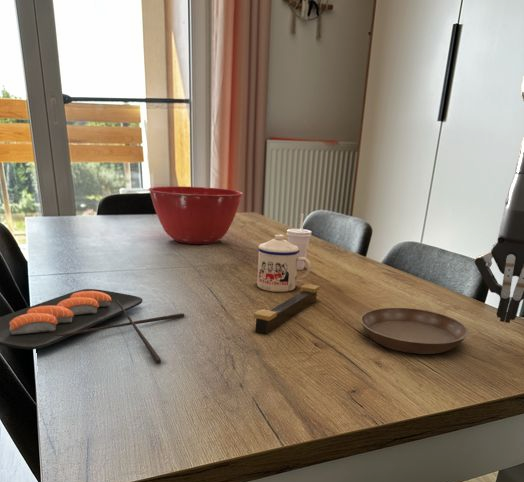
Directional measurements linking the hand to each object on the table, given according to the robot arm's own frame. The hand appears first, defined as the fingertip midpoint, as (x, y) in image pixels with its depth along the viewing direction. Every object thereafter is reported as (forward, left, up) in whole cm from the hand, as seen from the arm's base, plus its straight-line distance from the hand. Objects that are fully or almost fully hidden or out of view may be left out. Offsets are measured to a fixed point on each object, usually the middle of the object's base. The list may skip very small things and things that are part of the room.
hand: (504, 320), depth 81 cm
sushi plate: (+59, +26, -6) cm, 64 cm away
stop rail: (+37, 0, -6) cm, 37 cm away
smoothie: (+51, -37, -6) cm, 63 cm away
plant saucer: (+14, 0, -6) cm, 15 cm away
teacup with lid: (+46, -17, -6) cm, 49 cm away
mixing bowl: (+92, -52, -6) cm, 106 cm away
